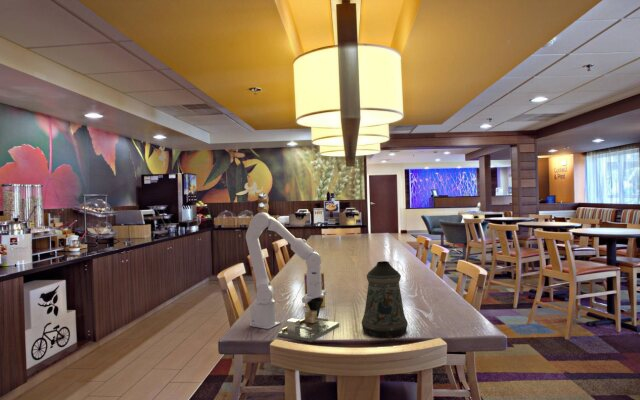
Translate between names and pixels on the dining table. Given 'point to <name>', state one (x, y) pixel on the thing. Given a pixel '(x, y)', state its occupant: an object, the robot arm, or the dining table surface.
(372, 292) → the beer stein
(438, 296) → the dining table surface
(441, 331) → the dining table surface
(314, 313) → the slider
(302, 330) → the bolt plate
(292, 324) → the fixed leg
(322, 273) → the candy box
